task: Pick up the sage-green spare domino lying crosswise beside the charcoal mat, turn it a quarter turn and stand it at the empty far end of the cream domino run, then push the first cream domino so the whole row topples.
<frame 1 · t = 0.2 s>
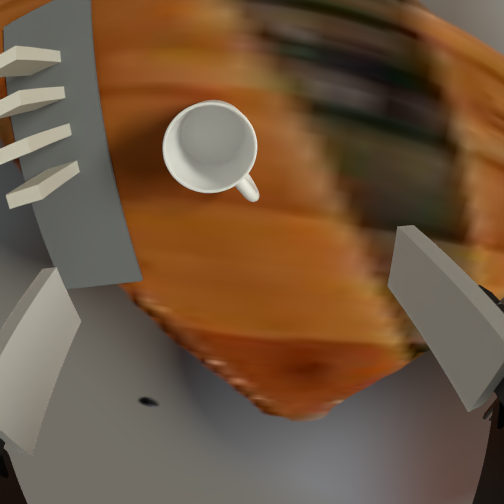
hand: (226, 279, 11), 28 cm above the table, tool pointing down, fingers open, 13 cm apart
domino 1: (44, 63, 26), point 1 cm above the table, touching slate mat
domino 3: (54, 134, 31), point 1 cm above the table, touching slate mat
domino 4: (62, 170, 33), point 1 cm above the table, touching slate mat
slate mat: (60, 147, 32), on the table
domino 2: (48, 98, 28), point 1 cm above the table, touching slate mat
cup: (222, 145, 35), on the table
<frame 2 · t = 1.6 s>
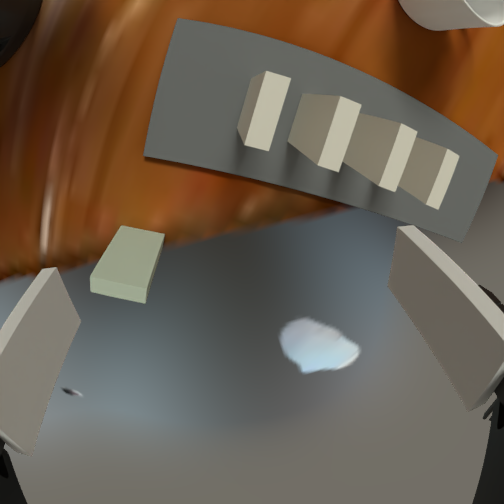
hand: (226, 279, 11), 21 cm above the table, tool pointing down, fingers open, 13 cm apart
domino 1: (252, 105, 26), point 1 cm above the table, touching slate mat
domino 3: (348, 135, 28), point 1 cm above the table, touching slate mat
domino 4: (387, 151, 29), point 1 cm above the table, touching slate mat
spare domino: (142, 236, 32), on the table
slate mat: (362, 141, 29), on the table
domino 2: (302, 119, 27), point 1 cm above the table, touching slate mat
cup: (434, 1, 21), on the table
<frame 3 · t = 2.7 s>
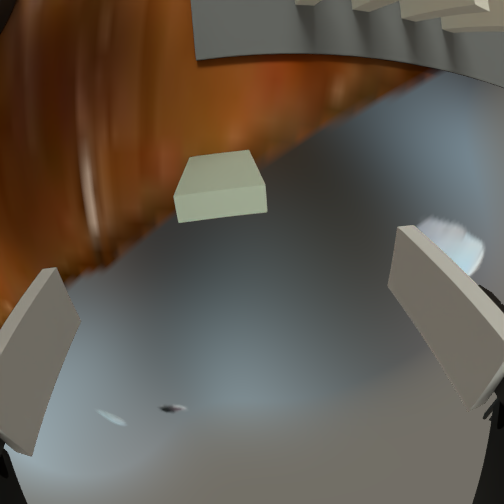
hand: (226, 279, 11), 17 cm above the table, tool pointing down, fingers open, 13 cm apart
domino 4: (445, 9, 18), point 1 cm above the table, touching slate mat
spare domino: (220, 162, 25), on the table
slate mat: (419, 3, 18), on the table
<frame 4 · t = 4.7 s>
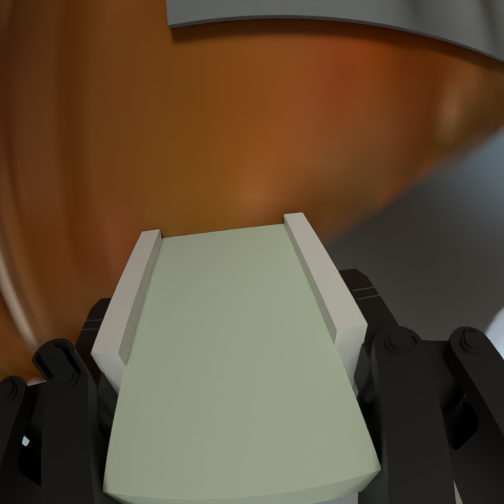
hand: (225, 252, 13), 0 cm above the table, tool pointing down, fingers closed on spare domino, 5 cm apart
spare domino: (224, 247, 13), on the table, touching gripper
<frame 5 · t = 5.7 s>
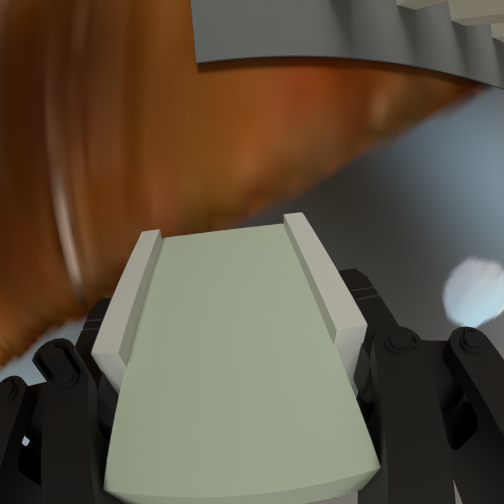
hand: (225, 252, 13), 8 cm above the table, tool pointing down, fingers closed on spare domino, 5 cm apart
domino 4: (493, 14, 13), point 1 cm above the table, touching slate mat
spare domino: (224, 247, 13), point 8 cm above the table, touching gripper
slate mat: (466, 4, 13), on the table
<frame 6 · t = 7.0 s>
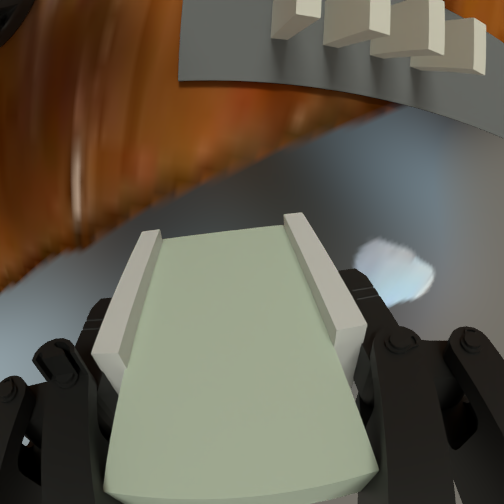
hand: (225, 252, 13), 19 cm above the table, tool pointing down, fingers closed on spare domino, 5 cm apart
domino 1: (280, 15, 22), point 1 cm above the table, touching slate mat
domino 3: (377, 35, 23), point 1 cm above the table, touching slate mat
domino 4: (417, 48, 24), point 1 cm above the table, touching slate mat
spare domino: (224, 249, 13), point 19 cm above the table, touching gripper
slate mat: (391, 40, 24), on the table
domino 2: (332, 24, 22), point 1 cm above the table, touching slate mat
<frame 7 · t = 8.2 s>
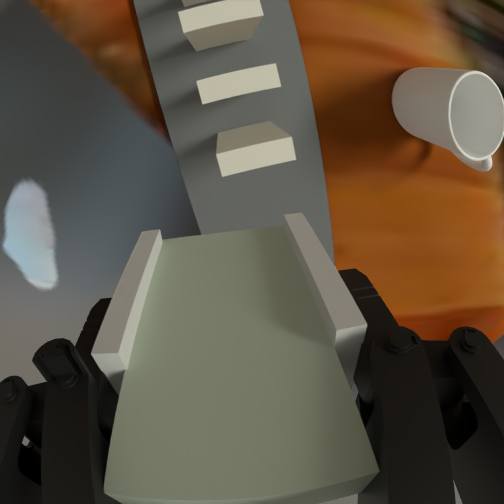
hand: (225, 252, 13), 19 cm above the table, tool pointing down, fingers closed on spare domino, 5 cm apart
domino 3: (233, 85, 25), point 1 cm above the table, touching slate mat
domino 4: (245, 134, 28), point 1 cm above the table, touching slate mat
spare domino: (224, 249, 13), point 19 cm above the table, touching gripper
slate mat: (237, 104, 27), on the table
domino 2: (221, 37, 23), point 1 cm above the table, touching slate mat
cup: (426, 114, 28), on the table
when the fingers open (2 cm above the table, at t = 11.7 s): spare domino moves 1 cm and tips over, resting on domino 4, slate mat.
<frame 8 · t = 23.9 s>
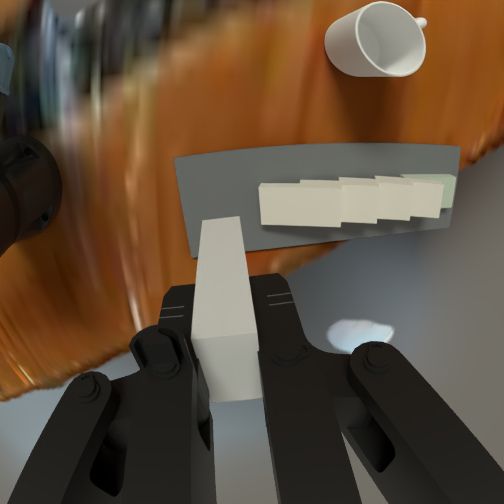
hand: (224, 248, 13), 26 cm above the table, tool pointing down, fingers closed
domino 1: (261, 203, 39), point 1 cm above the table, tilted 72°, touching domino 2, slate mat
domino 3: (338, 196, 39), point 1 cm above the table, tilted 71°, touching domino 2, domino 4, slate mat
domino 4: (374, 194, 39), point 1 cm above the table, tilted 71°, touching domino 3, spare domino
spare domino: (401, 192, 40), point 1 cm above the table, tilted 90°, touching domino 4, slate mat
slate mat: (339, 193, 40), on the table
domino 2: (300, 200, 39), point 1 cm above the table, tilted 72°, touching domino 1, domino 3, slate mat
cup: (363, 41, 30), on the table
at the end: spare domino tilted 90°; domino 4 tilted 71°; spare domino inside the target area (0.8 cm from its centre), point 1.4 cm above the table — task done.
